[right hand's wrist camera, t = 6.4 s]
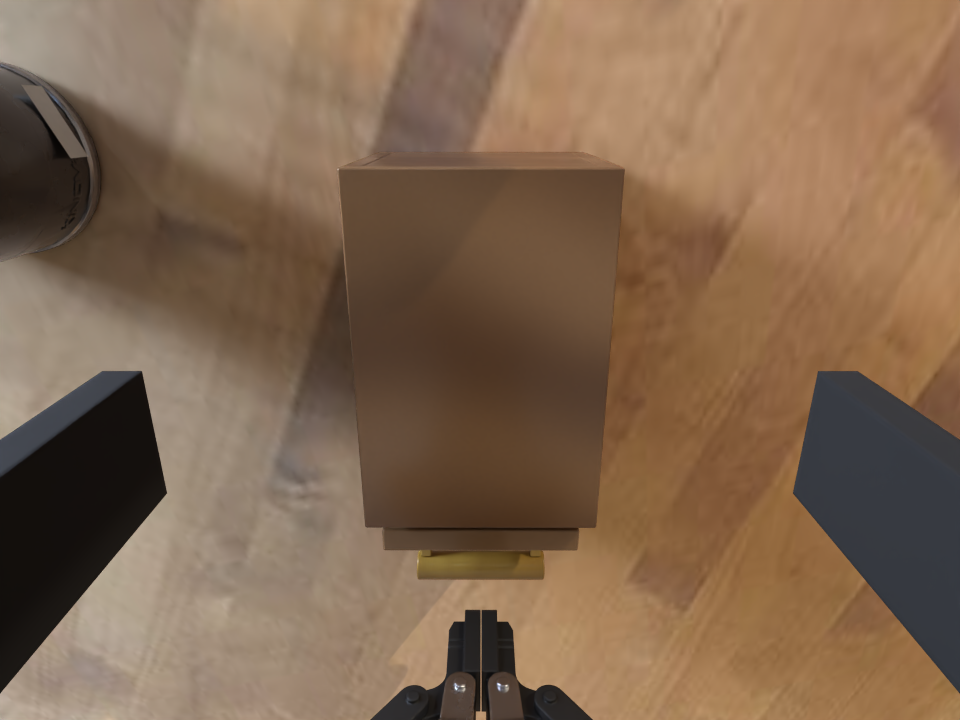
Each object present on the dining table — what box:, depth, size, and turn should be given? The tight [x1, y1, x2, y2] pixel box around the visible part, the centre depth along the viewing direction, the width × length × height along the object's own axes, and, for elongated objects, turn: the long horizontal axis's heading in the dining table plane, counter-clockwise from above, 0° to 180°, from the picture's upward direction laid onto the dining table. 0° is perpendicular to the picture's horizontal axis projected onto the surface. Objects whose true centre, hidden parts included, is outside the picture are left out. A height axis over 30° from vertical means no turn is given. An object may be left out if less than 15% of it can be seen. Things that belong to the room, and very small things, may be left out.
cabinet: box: [337, 152, 625, 528], centre depth 31 cm, size 16×11×10 cm
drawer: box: [382, 527, 579, 580], centre depth 33 cm, size 20×10×8 cm, turn 0°
